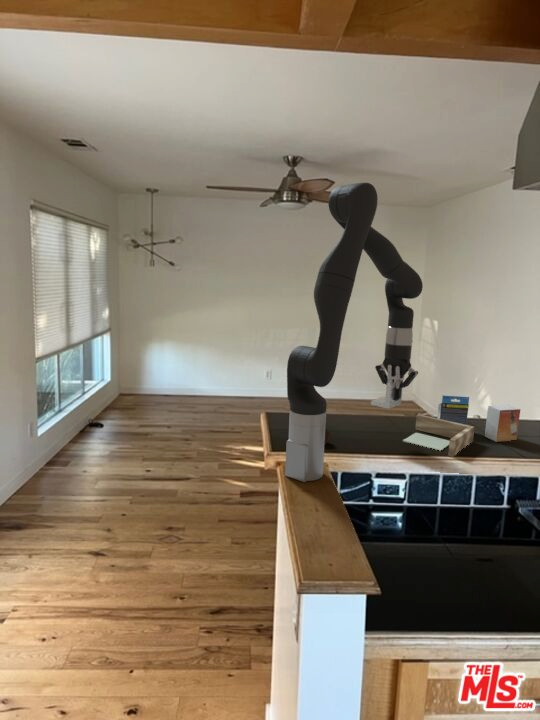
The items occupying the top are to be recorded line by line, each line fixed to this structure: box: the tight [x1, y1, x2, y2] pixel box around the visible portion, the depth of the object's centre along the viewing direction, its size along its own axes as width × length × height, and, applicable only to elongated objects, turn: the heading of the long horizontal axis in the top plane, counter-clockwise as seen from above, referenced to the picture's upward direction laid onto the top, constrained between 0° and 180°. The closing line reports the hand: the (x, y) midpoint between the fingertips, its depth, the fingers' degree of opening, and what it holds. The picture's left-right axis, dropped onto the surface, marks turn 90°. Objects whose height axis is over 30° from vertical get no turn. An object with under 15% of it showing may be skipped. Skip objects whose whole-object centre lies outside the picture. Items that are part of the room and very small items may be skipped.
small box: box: [484, 404, 521, 443], centre depth 162 cm, size 8×6×10 cm
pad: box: [402, 432, 450, 452], centre depth 157 cm, size 10×12×1 cm
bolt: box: [324, 426, 331, 445], centre depth 160 cm, size 6×5×15 cm
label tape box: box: [436, 394, 470, 425], centre depth 169 cm, size 9×4×12 cm, turn 85°
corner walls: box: [414, 413, 475, 458], centre depth 157 cm, size 17×18×5 cm
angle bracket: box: [370, 380, 403, 410], centre depth 153 cm, size 8×6×8 cm
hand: (393, 399), depth 152 cm, fingers closed on angle bracket, 1 cm apart
